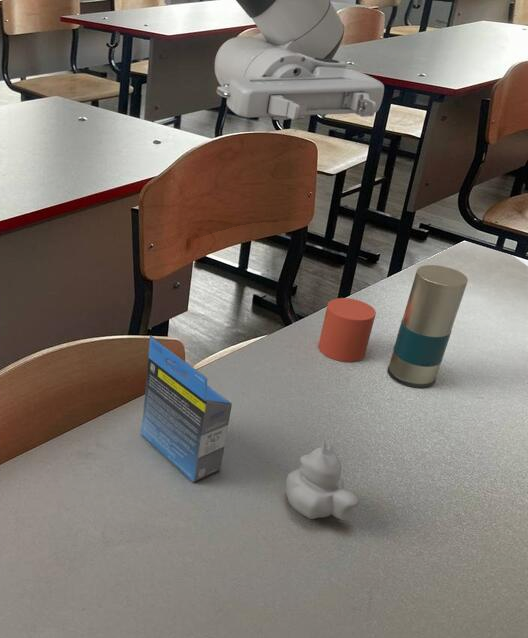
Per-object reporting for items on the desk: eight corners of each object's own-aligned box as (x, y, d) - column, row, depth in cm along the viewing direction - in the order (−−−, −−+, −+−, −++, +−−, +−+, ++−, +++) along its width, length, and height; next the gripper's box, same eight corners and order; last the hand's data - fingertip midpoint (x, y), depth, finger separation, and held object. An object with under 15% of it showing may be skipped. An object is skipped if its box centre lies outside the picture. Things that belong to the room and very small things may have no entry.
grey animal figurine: (300, 480, 74) (316, 415, 70) (363, 517, 70) (384, 450, 66) (269, 506, 71) (284, 439, 67) (333, 546, 67) (353, 477, 63)
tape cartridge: (223, 471, 75) (241, 367, 69) (192, 484, 74) (208, 379, 67) (167, 423, 82) (179, 324, 76) (138, 434, 80) (147, 334, 74)
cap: (353, 338, 98) (364, 297, 95) (372, 361, 94) (384, 319, 91) (311, 338, 98) (320, 298, 95) (328, 362, 93) (338, 320, 90)
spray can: (421, 363, 93) (452, 264, 87) (443, 387, 89) (478, 285, 82) (379, 363, 93) (407, 264, 86) (399, 388, 89) (431, 286, 82)
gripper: (214, 63, 101) (261, 87, 89) (352, 60, 105) (414, 82, 93) (208, 111, 104) (253, 140, 92) (342, 106, 108) (401, 133, 96)
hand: (335, 111), depth 93 cm, fingers open, 8 cm apart
